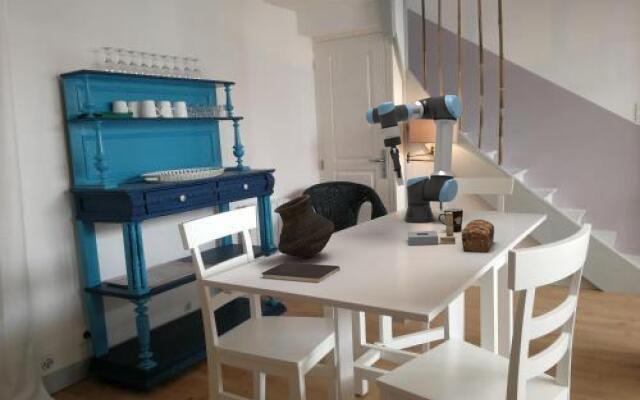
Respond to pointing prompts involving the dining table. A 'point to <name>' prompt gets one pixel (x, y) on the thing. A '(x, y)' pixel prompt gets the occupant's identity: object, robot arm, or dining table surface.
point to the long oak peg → (449, 224)
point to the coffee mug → (454, 218)
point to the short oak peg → (447, 240)
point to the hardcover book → (301, 272)
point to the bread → (478, 236)
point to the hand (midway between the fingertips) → (400, 183)
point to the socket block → (423, 238)
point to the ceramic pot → (302, 229)
